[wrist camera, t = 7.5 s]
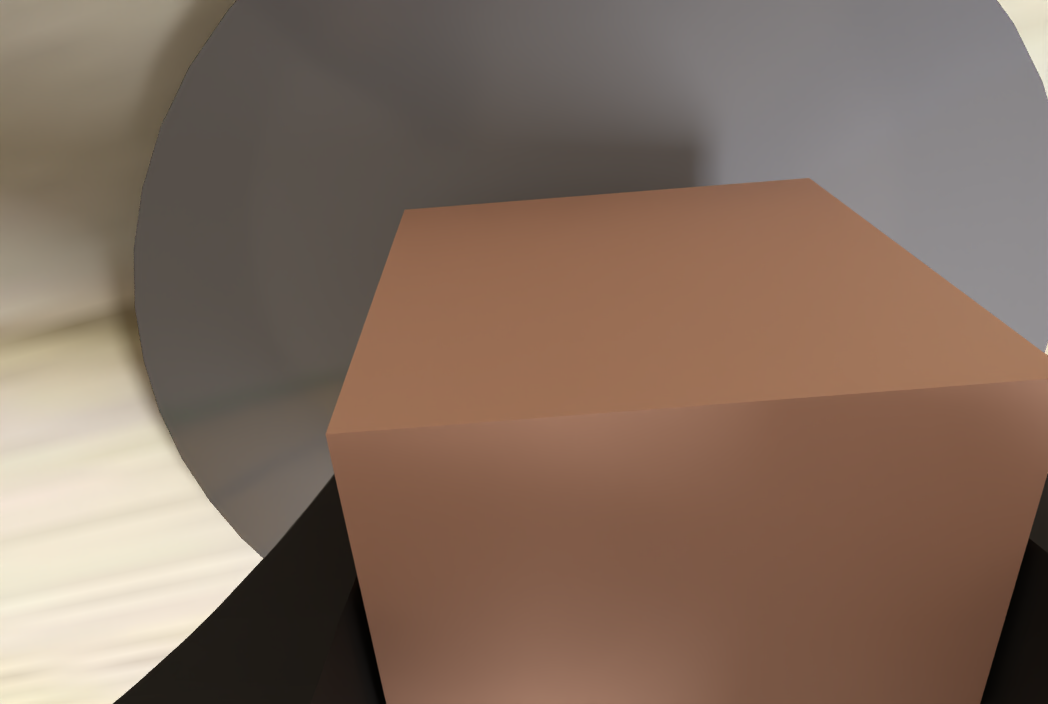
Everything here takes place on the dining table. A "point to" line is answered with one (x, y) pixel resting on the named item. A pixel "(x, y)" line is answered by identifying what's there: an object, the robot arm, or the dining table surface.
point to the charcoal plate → (538, 172)
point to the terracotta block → (683, 456)
